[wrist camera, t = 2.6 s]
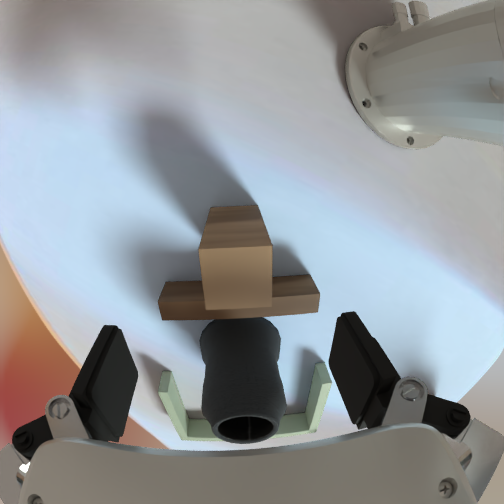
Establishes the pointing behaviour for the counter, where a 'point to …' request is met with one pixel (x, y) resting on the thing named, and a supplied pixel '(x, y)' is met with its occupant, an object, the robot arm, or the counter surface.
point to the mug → (242, 379)
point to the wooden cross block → (237, 274)
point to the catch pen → (288, 423)
